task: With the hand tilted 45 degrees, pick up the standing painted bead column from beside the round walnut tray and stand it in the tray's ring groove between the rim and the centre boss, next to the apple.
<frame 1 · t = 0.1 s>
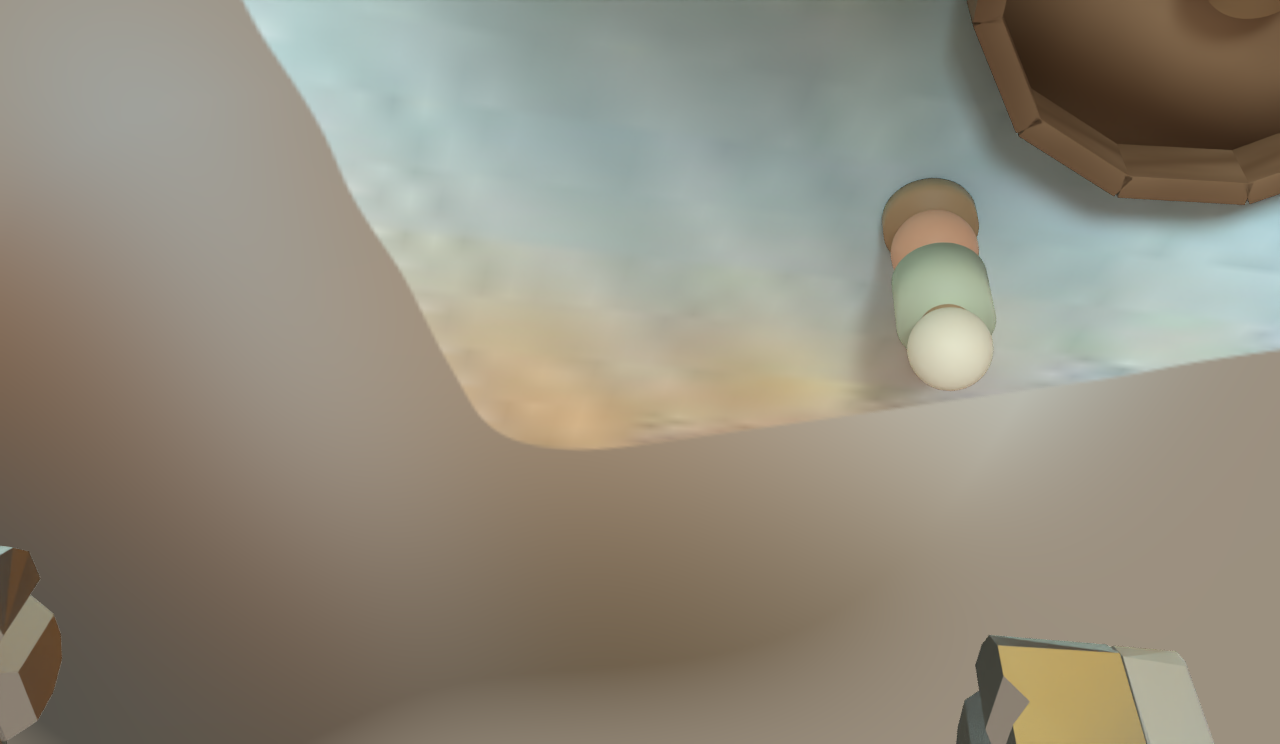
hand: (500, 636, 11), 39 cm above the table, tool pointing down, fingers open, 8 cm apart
bead column: (928, 217, 53), on the table
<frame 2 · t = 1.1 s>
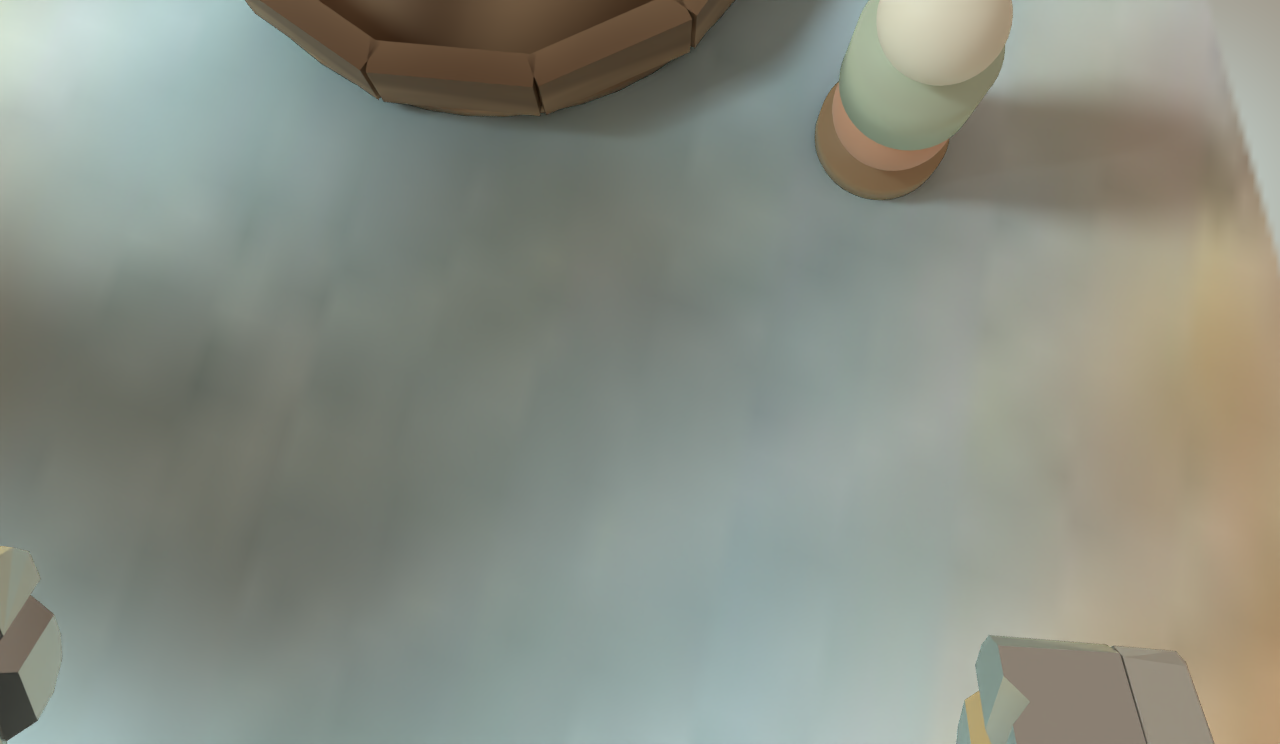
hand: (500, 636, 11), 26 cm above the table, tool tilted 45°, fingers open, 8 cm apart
bead column: (878, 137, 38), on the table
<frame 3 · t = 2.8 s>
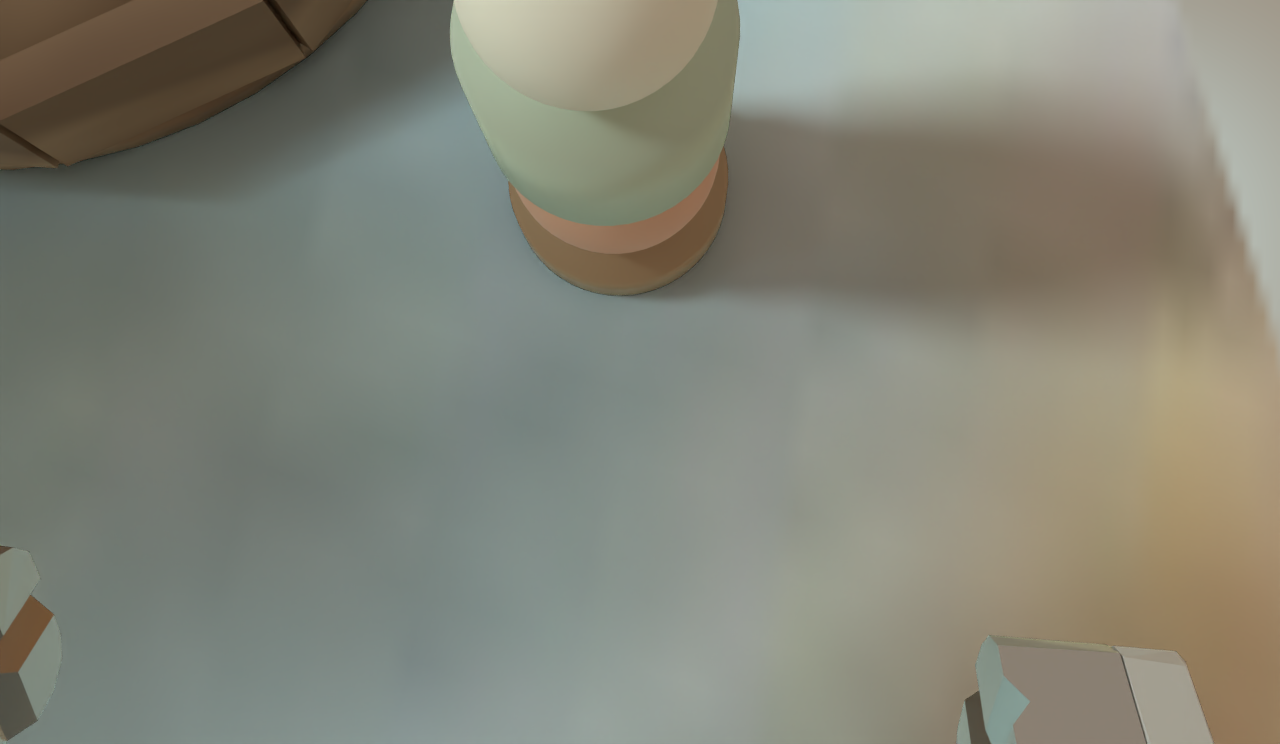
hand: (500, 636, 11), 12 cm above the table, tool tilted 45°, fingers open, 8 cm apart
bead column: (620, 192, 23), on the table
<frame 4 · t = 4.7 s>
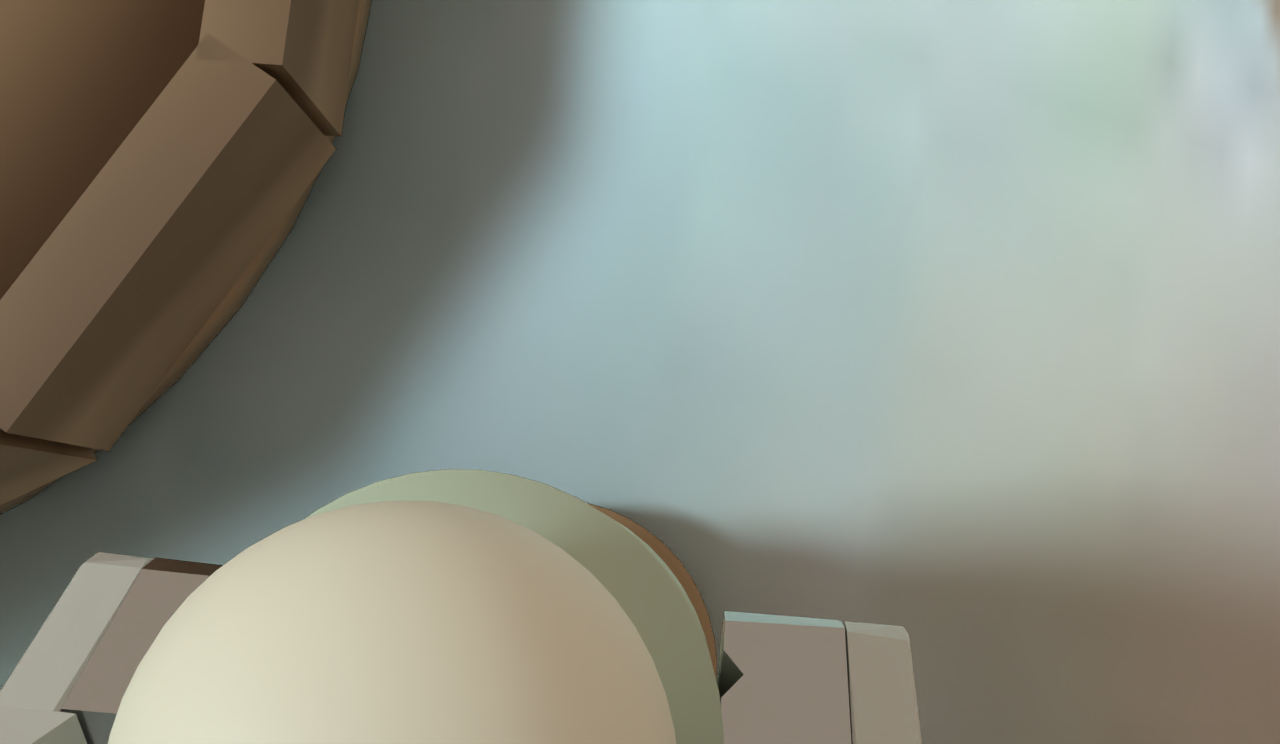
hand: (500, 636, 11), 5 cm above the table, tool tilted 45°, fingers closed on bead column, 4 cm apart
bead column: (559, 659, 16), on the table, touching gripper
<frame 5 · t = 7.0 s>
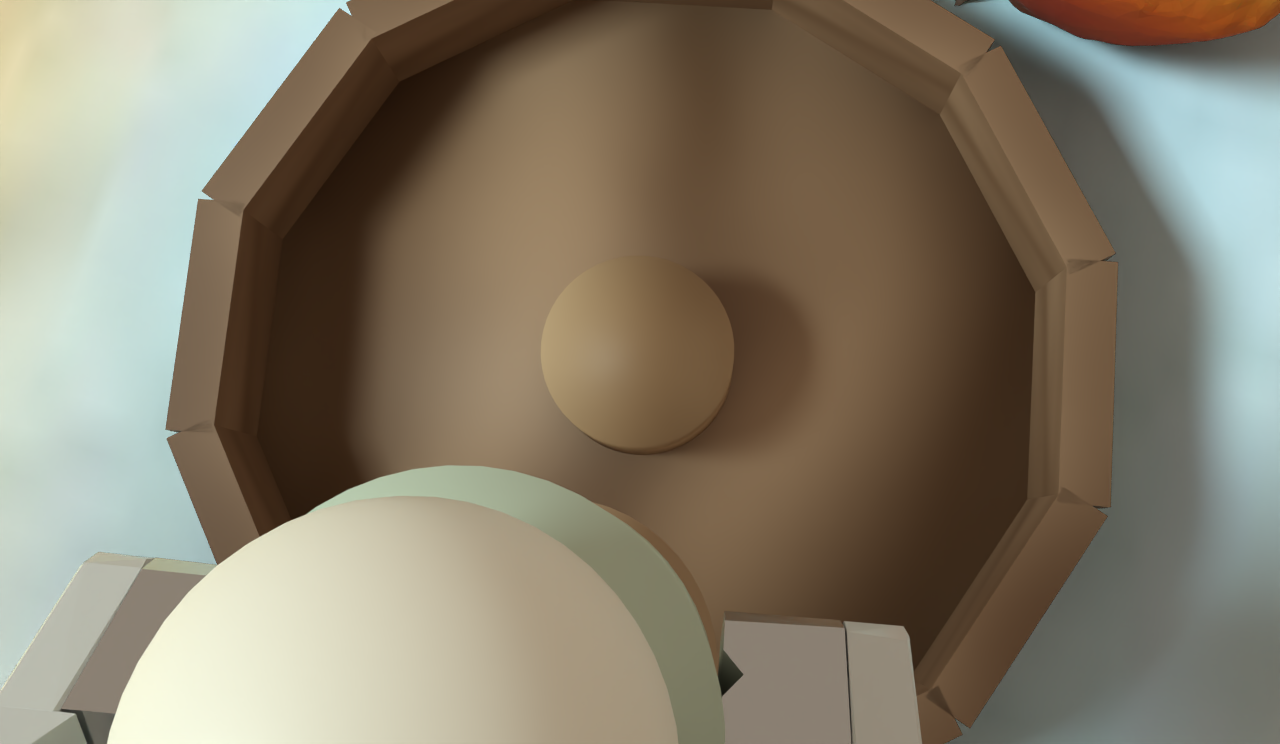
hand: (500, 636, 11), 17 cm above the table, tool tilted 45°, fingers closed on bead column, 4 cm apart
bead column: (559, 657, 16), point 11 cm above the table, touching gripper
walnut tray: (643, 369, 28), on the table
when the fingers open (7 cm above the table, at t = 9.4 s): bead column stays where it is, resting on walnut tray.
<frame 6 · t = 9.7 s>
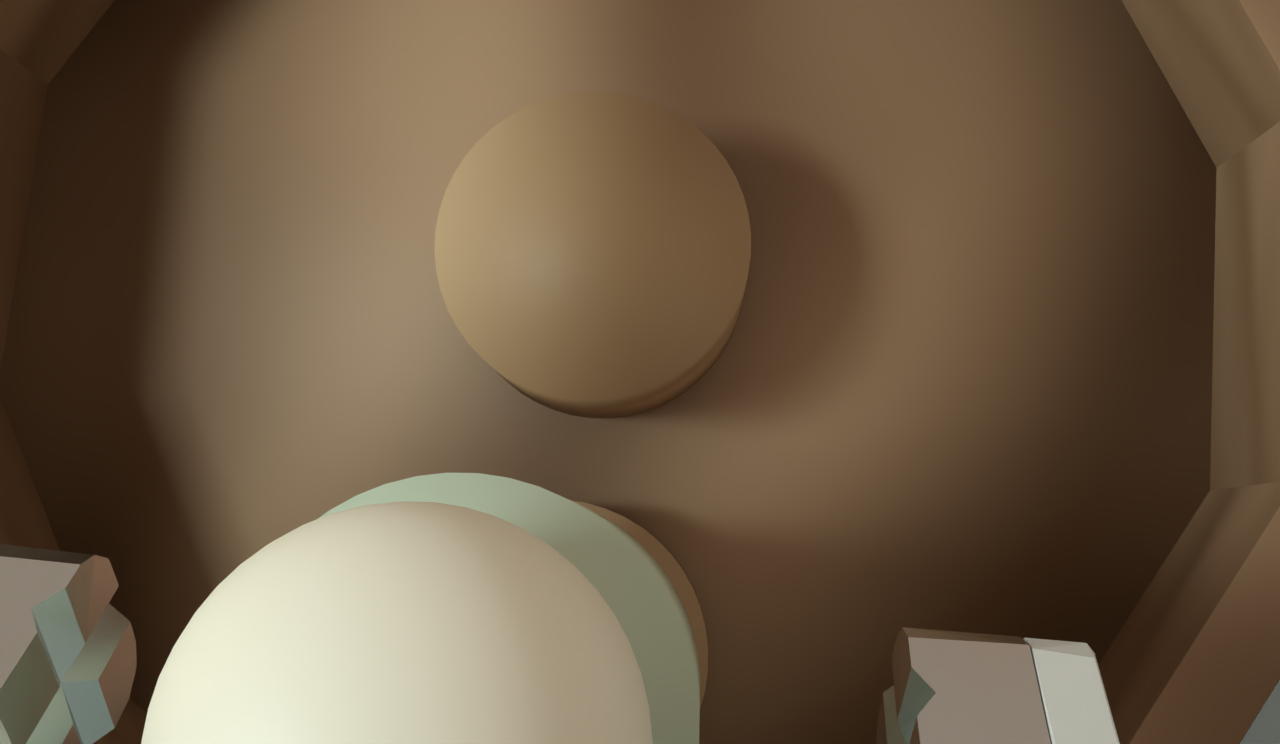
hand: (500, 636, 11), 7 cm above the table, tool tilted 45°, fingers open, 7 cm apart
bead column: (560, 650, 17), point 1 cm above the table, touching walnut tray
walnut tray: (605, 287, 18), on the table
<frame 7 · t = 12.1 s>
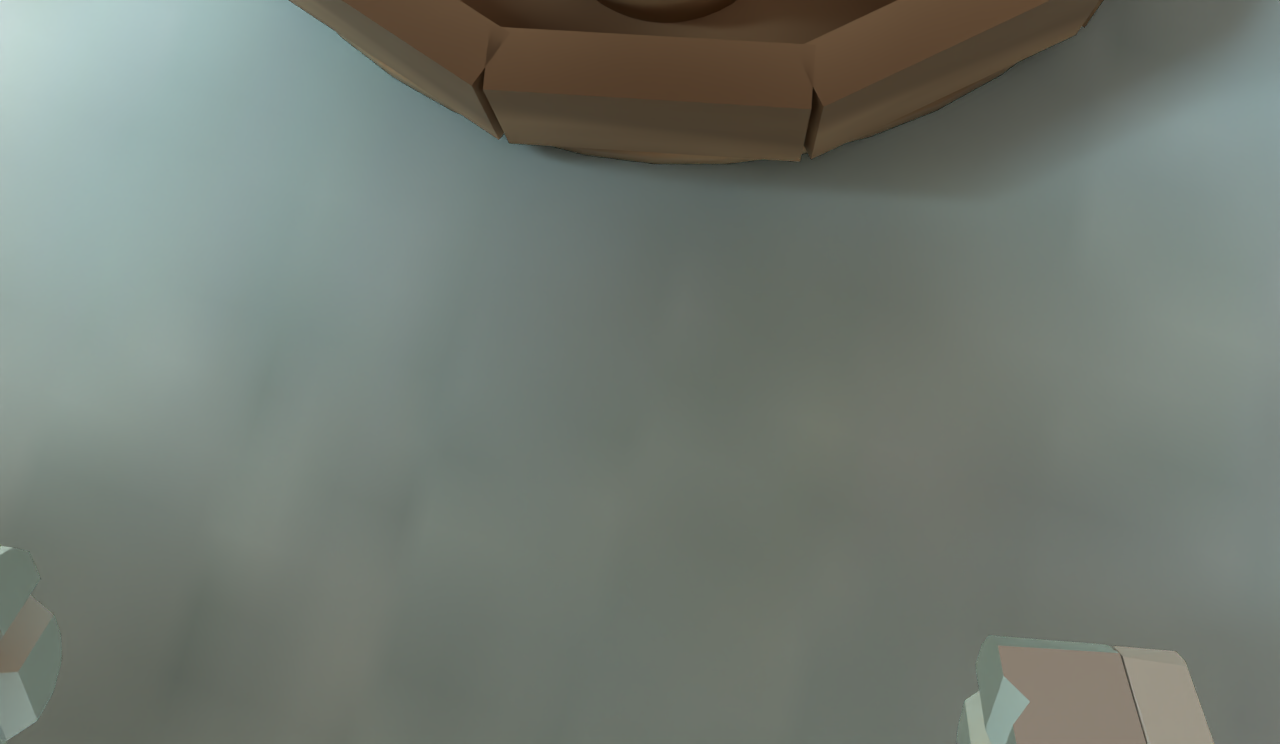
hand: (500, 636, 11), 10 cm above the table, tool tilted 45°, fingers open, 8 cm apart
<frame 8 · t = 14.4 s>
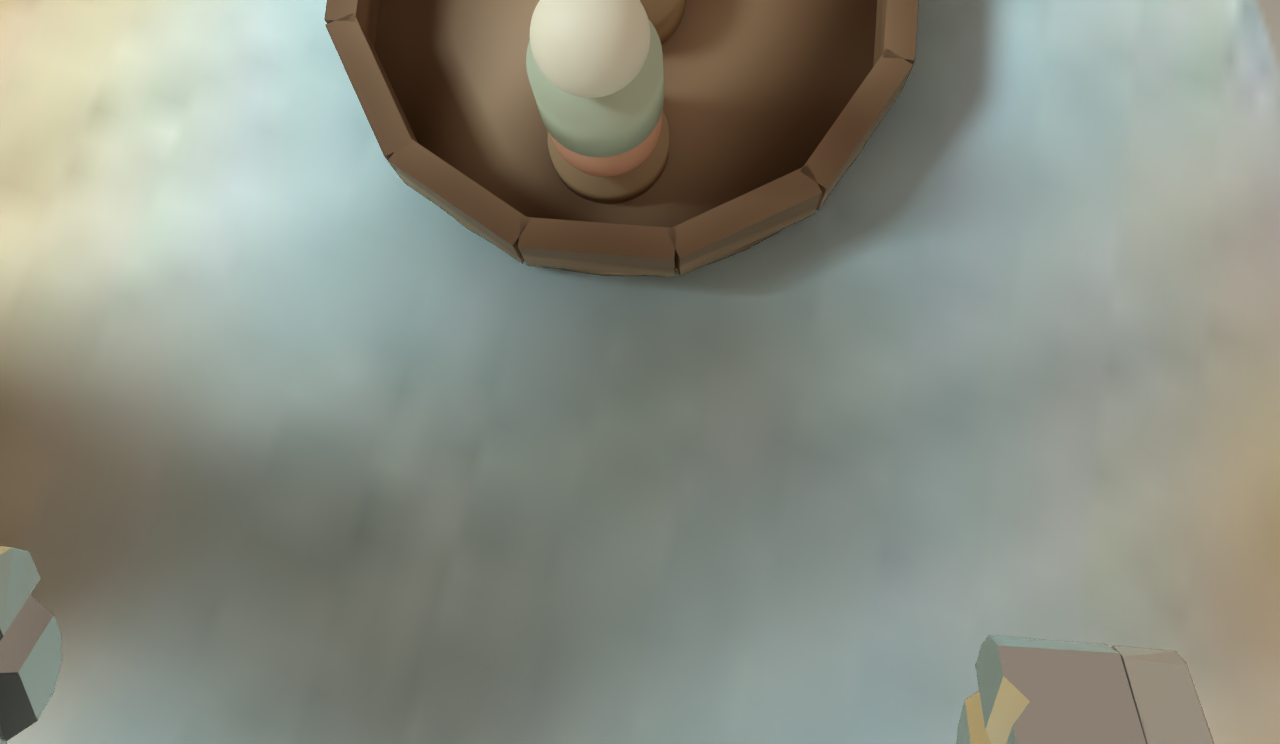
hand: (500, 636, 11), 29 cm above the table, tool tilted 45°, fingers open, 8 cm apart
bead column: (609, 146, 41), point 1 cm above the table, touching walnut tray
walnut tray: (627, 8, 42), on the table
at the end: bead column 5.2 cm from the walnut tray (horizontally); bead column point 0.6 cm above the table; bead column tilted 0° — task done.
